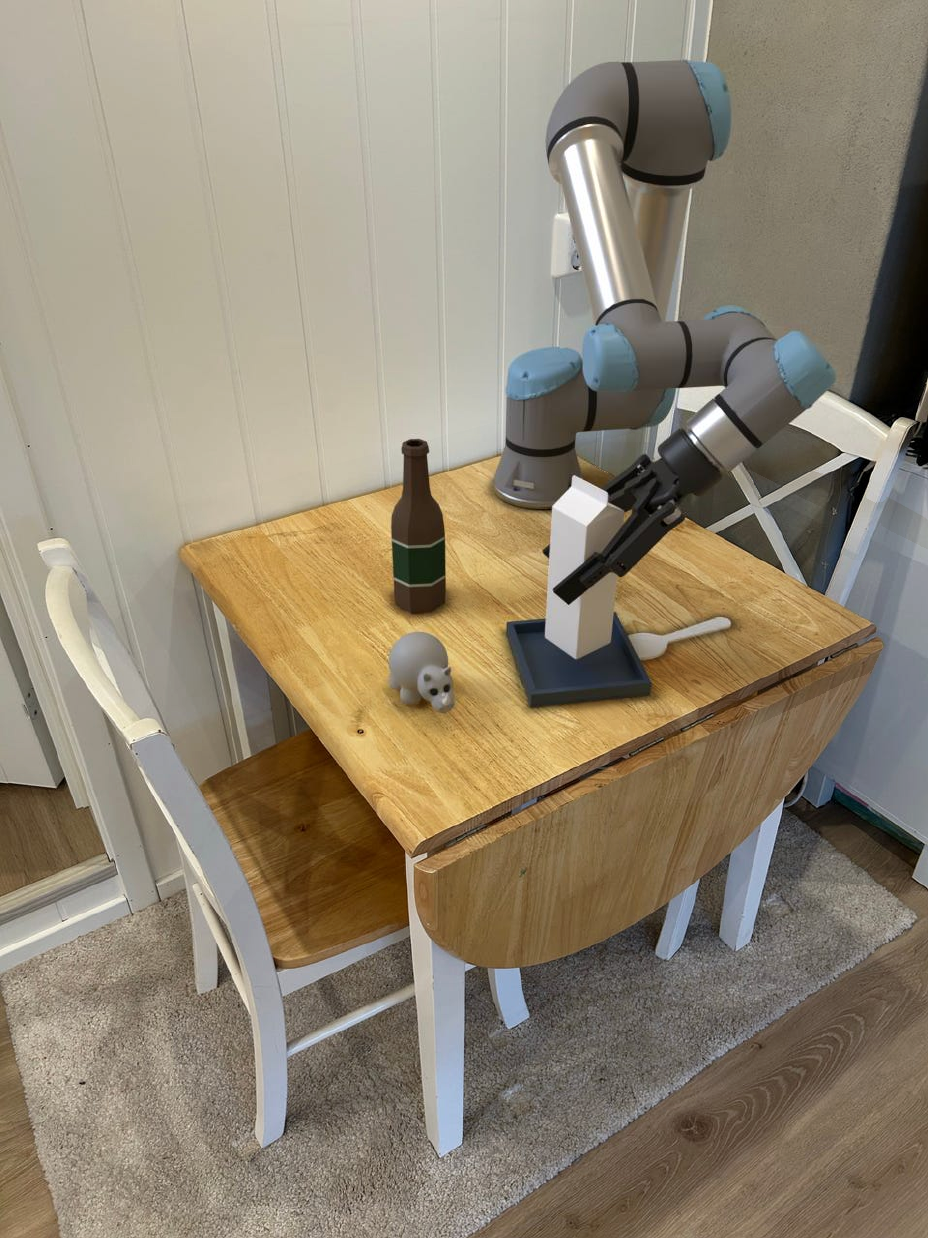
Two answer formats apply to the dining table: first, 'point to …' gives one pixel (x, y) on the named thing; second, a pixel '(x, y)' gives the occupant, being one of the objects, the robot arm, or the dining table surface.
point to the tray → (575, 667)
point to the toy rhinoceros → (421, 671)
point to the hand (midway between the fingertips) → (555, 576)
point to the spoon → (673, 637)
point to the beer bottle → (418, 537)
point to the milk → (574, 538)
